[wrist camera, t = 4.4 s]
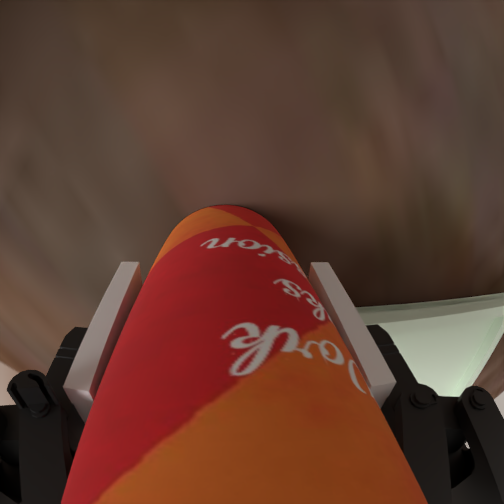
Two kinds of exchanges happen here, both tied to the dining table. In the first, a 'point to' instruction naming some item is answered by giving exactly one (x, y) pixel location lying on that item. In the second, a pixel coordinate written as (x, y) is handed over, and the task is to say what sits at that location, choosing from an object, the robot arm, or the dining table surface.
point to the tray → (443, 337)
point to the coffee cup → (234, 386)
